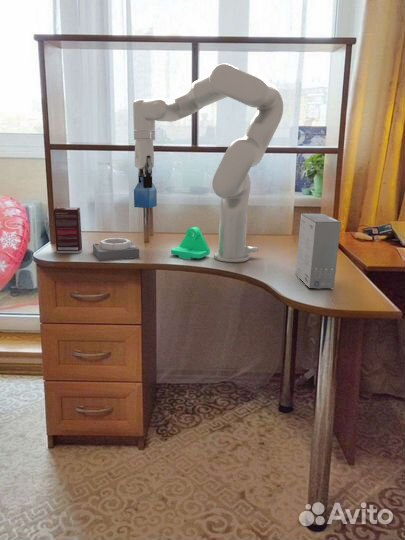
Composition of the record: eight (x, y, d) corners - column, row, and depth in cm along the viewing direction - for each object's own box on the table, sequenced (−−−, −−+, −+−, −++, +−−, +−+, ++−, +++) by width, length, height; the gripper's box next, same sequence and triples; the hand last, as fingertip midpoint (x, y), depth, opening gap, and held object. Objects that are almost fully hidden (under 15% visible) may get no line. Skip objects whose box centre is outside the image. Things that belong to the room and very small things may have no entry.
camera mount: (170, 256, 172) (170, 228, 169) (181, 252, 178) (181, 225, 175) (199, 261, 166) (200, 232, 163) (209, 257, 173) (210, 228, 170)
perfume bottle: (141, 205, 182) (141, 172, 179) (156, 206, 180) (156, 173, 177) (134, 207, 177) (133, 174, 174) (149, 208, 175) (149, 174, 172)
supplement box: (82, 250, 176) (80, 207, 172) (80, 253, 172) (78, 209, 167) (58, 250, 176) (56, 206, 171) (55, 253, 171) (52, 208, 167)
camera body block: (131, 249, 179) (130, 236, 178) (139, 257, 169) (139, 243, 167) (93, 252, 174) (92, 238, 173) (99, 260, 163) (98, 246, 162)
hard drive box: (334, 290, 139) (341, 222, 133) (308, 290, 138) (315, 221, 133) (318, 274, 154) (324, 212, 148) (294, 274, 153) (299, 212, 148)
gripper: (128, 135, 178) (129, 184, 183) (140, 136, 163) (141, 189, 168) (148, 135, 181) (148, 184, 186) (161, 136, 165) (162, 189, 170)
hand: (145, 186), depth 177 cm, fingers closed on perfume bottle, 5 cm apart
